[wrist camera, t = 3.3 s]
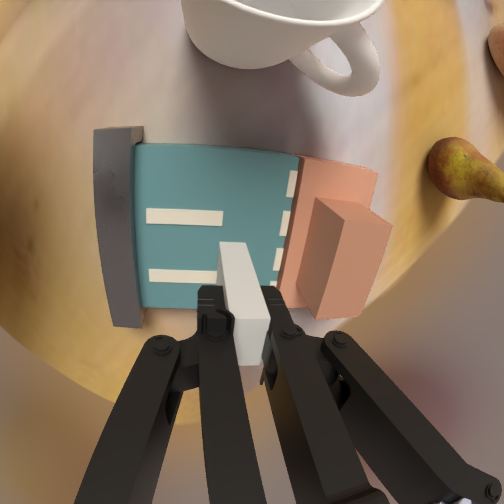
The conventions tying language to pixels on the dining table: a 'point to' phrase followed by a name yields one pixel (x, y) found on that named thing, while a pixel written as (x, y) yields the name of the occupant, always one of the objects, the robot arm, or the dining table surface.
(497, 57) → the apple
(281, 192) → the striped teal tile
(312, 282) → the stub
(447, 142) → the fruit
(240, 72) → the dining table surface
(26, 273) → the dining table surface
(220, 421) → the robot arm
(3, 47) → the dining table surface
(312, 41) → the mug
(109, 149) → the grey end rail
